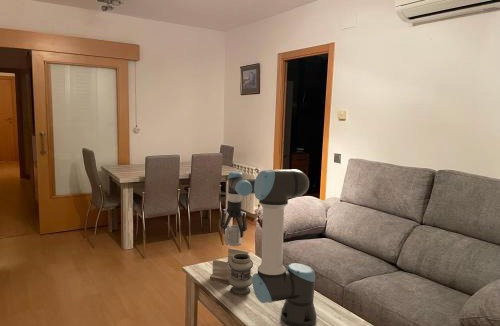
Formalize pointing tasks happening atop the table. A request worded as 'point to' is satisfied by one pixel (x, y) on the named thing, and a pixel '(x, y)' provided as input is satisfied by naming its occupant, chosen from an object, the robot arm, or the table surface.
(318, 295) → the table surface
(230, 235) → the mug
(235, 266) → the apothecary jar
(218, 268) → the shelf
